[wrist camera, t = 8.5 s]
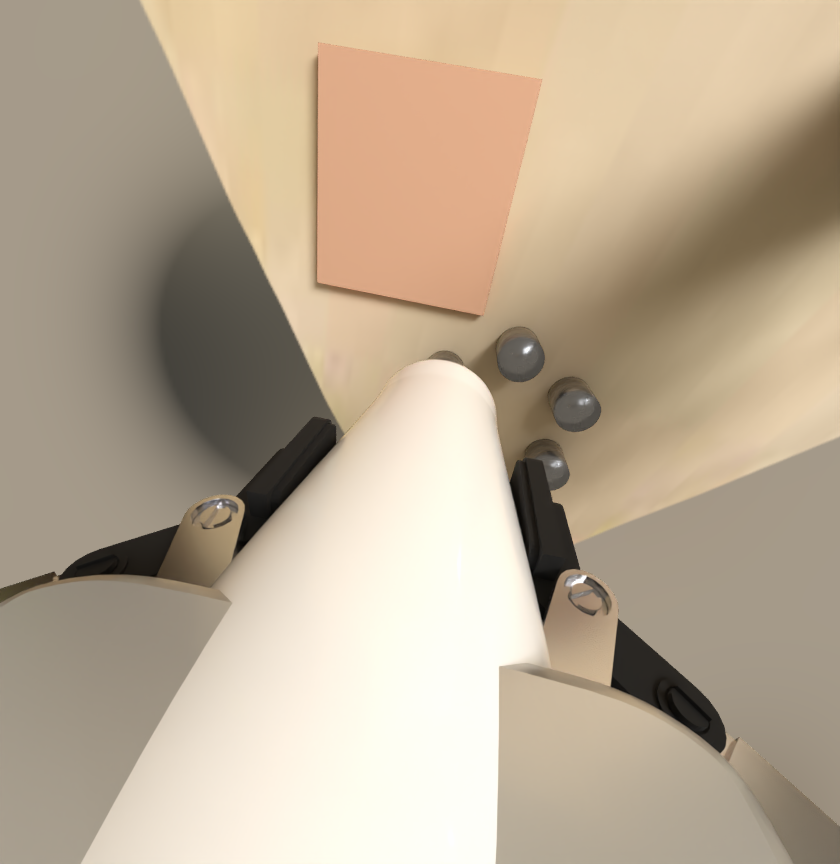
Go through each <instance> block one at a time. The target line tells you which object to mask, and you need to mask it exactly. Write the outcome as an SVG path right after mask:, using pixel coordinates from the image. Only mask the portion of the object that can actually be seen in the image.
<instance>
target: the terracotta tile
mask: <svg viewBox="0 0 840 864" xmlns="http://www.w3.org/2000/svg"><path fill="white" fill-rule="evenodd" d="M541 83H542V79H536V78H530V77H524V76H518V75H512V74H506V73H500V72H494V71H488V70H482V69H476V68H470V67H464V66H458V65H452V64H446V63H440V62H433V61H427V60H421V59H415V58H409V57H403V56H397V55H391V54H385V53H379V52H373V51H367V50H361V49H355V48H349V47H343V46H337V45H331V44H325V43H319V42H318V206H317V282H318V283H322V284H327V285H332V286H337V287H342V288H347V289H352V290H357V291H362V292H367V293H372V294H377V295H382V296H387V297H392V298H397V299H402V300H407V301H412V302H417V303H422V304H427V305H432V306H437V307H442V308H447V309H452V310H457V311H462V312H467V313H472V314H477V315H482V316H483V315H484V311H485V307H486V303H487V299H488V295H489V291H490V287H491V283H492V279H493V275H494V271H495V267H496V263H497V259H498V255H499V251H500V247H501V243H502V239H503V235H504V231H505V227H506V223H507V219H508V215H509V211H510V207H511V203H512V199H513V195H514V191H515V187H516V183H517V179H518V175H519V171H520V167H521V163H522V159H523V155H524V151H525V147H526V143H527V139H528V135H529V131H530V127H531V123H532V119H533V115H534V111H535V107H536V103H537V99H538V95H539V91H540V87H541Z"/></svg>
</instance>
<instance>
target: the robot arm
mask: <svg viewBox="0 0 840 864" xmlns="http://www.w3.org/2000/svg"><path fill="white" fill-rule="evenodd" d="M335 444H336V426H335V425H333V424H331V420H329V419H323V418H318V417H313V418H312V419H311V420H310V421H309V422H308V423H307V424H306V425H305V426H304V428H303V429H302V430H301V431H300V432H299V433H298V434H297V435H296V437H294V439H293V440H292V441H291V442H290V443H289V444H288V445H287V446H286V447H285V448H283V449H280V450H279V451H278V452H277V453H276V454H275V455H274V456H273V457H272V458H271V459H270V460H269V461H268V462H267V464H266V465H265V466H264V467H263V468H262V469H261V470H260V471H259V472H258V473H257V474H256V475H255V477H254V478H253V479H252V480H251V481H250V482H249V483H248V484H247V485H246V486H245V487H244V488H243V490H242V491H241V492H240V493H239V494H238V495H237V496H236V497H235V496H231V495H216V496H211V497H208V498H205V499H202V500H201V501H199V502H197V503H195V504H194V505H193V506H191V507H190V508H189V509H188V511H187V512H186V513H185V515H184V517H183V519H182V521H181V523H180V524H179V525H176V526H173V527H170V528H167V529H163V530H160V531H157V532H154V533H151V534H147V535H144V536H141V537H138V538H135V539H131V540H128V541H125V542H121V543H118V544H115V545H112V546H109V547H106V548H103V549H99V550H97V551H94V552H92V553H89V554H87V555H85V556H83V557H82V558H80V559H78V560H77V561H75V562H74V563H73V564H71V565H70V566H69V567H68V568H67V569H66V570H65V571H64V572H63V574H61V575H58V576H57V575H56V573H55V572H51V573H48V574H45V575H42V576H38V577H35V578H32V579H29V580H26V581H23V582H19V583H16V584H13V585H10V586H7V587H4V588H1V589H0V864H81V862H82V860H83V859H84V857H85V855H86V853H87V851H88V850H89V848H90V846H91V844H92V842H93V841H94V839H95V837H96V835H97V833H98V831H99V830H100V828H101V826H102V824H103V822H104V820H105V819H106V817H107V815H108V813H109V811H110V809H111V808H112V806H113V804H114V802H115V800H116V799H117V797H118V795H119V793H120V791H121V790H122V788H123V786H124V784H125V782H126V781H127V779H128V777H129V775H130V774H131V772H132V770H133V768H134V766H135V765H136V763H137V761H138V759H139V757H140V756H141V754H142V752H143V750H144V748H145V747H146V745H147V743H148V742H149V740H150V738H151V736H152V735H153V733H154V731H155V730H156V728H157V726H158V724H159V723H160V721H161V719H162V717H163V716H164V714H165V712H166V711H167V709H168V707H169V705H170V704H171V702H172V700H173V698H174V697H175V695H176V694H177V692H178V690H179V689H180V687H181V685H182V684H183V682H184V680H185V679H186V677H187V676H188V674H189V672H190V671H191V669H192V667H193V666H194V664H195V662H196V661H197V659H198V657H199V656H200V654H201V652H202V651H203V649H204V647H205V646H206V644H207V643H208V641H209V639H210V638H211V636H212V635H213V633H214V631H215V630H216V628H217V627H218V625H219V624H220V622H221V620H222V619H223V617H224V616H225V614H226V612H227V611H228V609H229V608H230V606H231V605H232V602H231V601H230V600H229V599H228V598H227V597H226V596H225V595H224V594H223V593H222V592H221V591H220V590H217V589H212V588H210V587H211V586H212V584H213V583H214V582H215V581H216V579H217V578H218V577H219V576H220V574H221V573H222V572H223V571H224V570H225V568H226V567H227V566H228V565H229V564H230V563H231V561H232V560H233V559H234V558H235V557H236V555H237V554H238V553H239V552H240V551H241V550H242V548H243V547H244V546H245V545H246V544H247V543H248V541H249V540H250V539H251V538H252V537H253V536H254V534H255V533H256V532H257V531H258V530H259V529H260V528H261V527H262V525H263V524H264V523H265V522H266V521H267V520H268V519H269V517H270V516H271V515H272V514H273V513H274V512H275V511H276V510H277V508H278V507H279V506H280V505H281V504H282V503H283V502H284V501H285V500H286V499H287V497H288V496H289V495H290V494H291V493H292V492H293V491H294V490H295V489H296V488H297V486H298V485H299V484H300V483H301V482H302V481H303V480H304V479H305V478H306V476H307V475H308V474H309V473H310V472H311V471H312V470H313V469H314V468H315V467H316V465H317V464H318V463H319V462H320V461H321V460H322V459H323V458H324V457H325V456H326V454H327V453H328V452H329V451H330V450H331V449H332V448H333V447H334V446H335ZM510 486H511V490H512V495H513V499H514V503H515V507H516V511H517V516H518V520H519V524H520V528H521V532H522V536H523V541H524V545H525V549H526V553H527V557H528V562H529V566H530V570H531V574H532V578H533V583H534V587H535V592H536V596H537V601H538V605H539V609H540V614H541V618H542V623H543V628H544V633H545V638H546V643H547V648H548V653H549V658H550V663H551V669H549V668H545V667H541V666H538V665H534V664H530V663H521V664H512V665H506V666H499V748H498V799H497V842H496V862H495V864H840V826H839V825H837V824H836V823H835V822H834V821H833V820H832V819H831V818H830V817H829V816H827V815H826V814H825V813H824V812H823V811H822V810H821V809H820V808H818V807H817V806H816V805H815V804H814V803H813V802H812V801H811V800H810V799H808V798H807V797H806V796H805V795H804V794H803V793H802V792H800V791H799V790H798V789H797V788H796V787H795V786H794V785H793V784H792V783H791V782H789V781H788V780H787V779H786V778H785V777H784V776H783V775H782V774H780V773H779V772H778V771H777V770H776V769H775V768H774V767H773V766H772V765H770V764H769V763H768V762H767V761H766V760H765V759H764V758H763V757H761V756H760V755H759V754H758V753H757V752H756V751H755V750H754V749H753V748H751V747H750V746H749V745H748V744H747V743H746V742H745V741H744V740H743V739H741V738H740V737H738V738H737V739H735V740H734V739H733V738H732V737H731V736H730V735H729V734H728V733H726V732H725V728H724V725H723V723H722V720H721V718H720V716H719V714H718V712H717V711H716V709H715V708H714V707H713V705H712V704H711V702H710V701H709V700H708V699H707V698H706V697H705V696H704V695H703V694H702V693H701V692H700V691H699V690H698V689H697V688H696V687H695V686H694V685H693V684H692V683H691V682H689V681H688V680H687V679H686V678H685V677H684V676H683V675H682V674H680V673H679V672H678V671H677V670H676V669H675V668H673V667H672V666H671V665H670V664H669V663H668V662H667V661H666V660H665V659H663V658H662V657H661V656H660V655H659V654H658V653H657V652H655V651H654V650H653V649H652V648H651V647H650V646H649V645H647V644H646V643H645V642H644V641H643V640H642V639H641V638H640V637H638V636H637V635H636V634H635V633H634V632H633V631H631V629H629V628H628V627H627V626H626V625H625V624H624V623H622V622H621V621H620V620H619V619H618V612H619V609H618V602H617V600H616V598H615V595H614V594H613V592H612V591H611V590H610V588H609V587H608V586H607V585H606V584H605V583H604V582H603V581H602V580H601V579H599V578H597V577H596V576H594V575H592V574H591V573H588V572H586V571H583V570H580V567H579V563H578V559H577V556H576V552H575V549H574V545H573V541H572V537H571V534H570V530H569V527H568V523H567V519H566V516H565V512H564V509H563V506H562V505H561V504H558V503H553V501H552V497H551V493H550V489H549V485H548V481H547V477H546V472H545V468H544V464H543V461H542V460H537V459H532V458H527V457H525V458H524V459H523V461H520V460H518V461H517V462H516V465H515V468H514V471H513V474H512V477H511V480H510Z"/></svg>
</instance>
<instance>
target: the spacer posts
mask: <svg viewBox="0 0 840 864" xmlns="http://www.w3.org/2000/svg"><path fill="white" fill-rule="evenodd" d="M496 353H497V362H498V368H499V370H500V372H501V374H502V375H503V376H504V377H505V378H507V379H508V380H511V381H514V382H524V381H528V380H530V379H532V378H534V377H535V376H536V375H537V374H538V373H539V372H540V371H541V369H542V367H543V365H544V360H545V356H544V352H543V349H542V347H541V345H540V343H539V341H538V339H537V337H536V335H535V334H534V333H533V332H532V331H531V330H529V329H527V328H524V327H514V328H511V329H509V330H507V331H505V332H504V333H503V334H502V335H501V336H500V338H499V339H498V342H497V345H496ZM431 359H438V360H447V361H451V362H454V363H457V364H460V365H462V366H463V362H462V360H461V359H460V358H459V357H458V356H457V355H456V354H454V353H452V352H450V351H439V352H437V353H435V354H433V355H432V356H431V357H430V358H429V359H428V360H431ZM548 401H549V404H550V407H551V410H552V412H553V415H554V417H555V420H556V422H557V424H558V425H559V426H560V427H561V428H562V429H564V430H567V431H571V432H579V431H583V430H586V429H588V428H590V427H591V426H593V425H594V424H595V423H596V422H597V420H598V419H599V417H600V413H601V407H600V404H599V402H598V400H597V399H596V397H595V396H594V394H593V393H592V391H591V390H590V388H589V387H588V385H587V384H586V383H585V382H584V381H583V380H581V379H579V378H575V377H568V378H564V379H561V380H559V381H557V382H556V383H555V384H554V385H553V386H552V387H551V389H550V391H549V393H548ZM525 457H527V458H532V459H537V460H542V461H543V464H544V468H545V472H546V477H547V481H548V485H549V489H550V491H551V490H556V489H559V488H561V487H562V486H564V485H565V484H566V483H567V481H568V479H569V476H570V473H569V469H568V466H567V463H566V461H565V458H564V455H563V452H562V449H561V447H560V446H559V445H558V444H557V443H556V442H554V441H552V440H548V439H542V440H538V441H535V442H533V443H532V444H530V445H529V446H528V448H527V450H526V452H525Z"/></svg>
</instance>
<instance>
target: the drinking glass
mask: <svg viewBox="0 0 840 864" xmlns="http://www.w3.org/2000/svg"><path fill="white" fill-rule="evenodd" d="M210 588H212V589H217V590H220V591H221V592H222V593H223V594H224V595H225V596H226V597H227V598H228V599H229V600H230V601H231V602H232V605H231V606H230V608H229V609H228V611H227V612H226V614H225V616H224V617H223V619H222V620H221V622H220V624H219V625H218V627H217V628H216V630H215V631H214V633H213V635H212V636H211V638H210V639H209V641H208V643H207V644H206V646H205V647H204V649H203V651H202V652H201V654H200V656H199V657H198V659H197V661H196V662H195V664H194V666H193V667H192V669H191V671H190V672H189V674H188V676H187V677H186V679H185V680H184V682H183V684H182V685H181V687H180V689H179V690H178V692H177V694H176V695H175V697H174V698H173V700H172V702H171V704H170V705H169V707H168V709H167V711H166V712H165V714H164V716H163V717H162V719H161V721H160V723H159V724H158V726H157V728H156V730H155V731H154V733H153V735H152V736H151V738H150V740H149V742H148V743H147V745H146V747H145V748H144V750H143V752H142V754H141V756H140V757H139V759H138V761H137V763H136V765H135V766H134V768H133V770H132V772H131V774H130V775H129V777H128V779H127V781H126V782H125V784H124V786H123V788H122V790H121V791H120V793H119V795H118V797H117V799H116V800H115V802H114V804H113V806H112V808H111V809H110V811H109V813H108V815H107V817H106V819H105V820H104V822H103V824H102V826H101V828H100V830H99V831H98V833H97V835H96V837H95V839H94V841H93V842H92V844H91V846H90V848H89V850H88V851H87V853H86V855H85V857H84V859H83V860H82V862H81V864H495V862H496V842H497V799H498V748H499V666H506V665H512V664H521V663H530V664H534V665H538V666H541V667H545V668H549V669H551V663H550V658H549V653H548V648H547V643H546V638H545V633H544V628H543V623H542V618H541V614H540V609H539V605H538V601H537V596H536V592H535V587H534V583H533V578H532V574H531V570H530V566H529V562H528V557H527V553H526V549H525V545H524V541H523V536H522V532H521V528H520V524H519V520H518V516H517V511H516V507H515V503H514V499H513V495H512V490H511V486H510V482H509V477H508V473H507V469H506V465H505V460H504V456H503V451H502V447H501V442H500V438H499V433H498V428H497V415H496V407H495V403H494V400H493V397H492V395H491V393H490V391H489V389H488V388H487V386H486V385H485V383H484V382H483V381H482V380H481V379H480V378H479V377H478V376H477V375H476V374H475V373H474V372H472V371H471V370H469V369H468V368H466V367H464V366H462V365H460V364H457V363H454V362H451V361H447V360H438V359H431V360H423V361H418V362H415V363H412V364H410V365H408V366H406V367H404V368H402V369H401V370H399V371H398V372H397V373H395V374H394V375H393V376H392V377H391V378H390V380H389V381H388V382H387V383H386V385H385V386H384V388H383V389H382V391H381V392H380V394H379V396H378V397H377V398H376V399H375V401H374V402H373V403H372V404H371V405H370V406H369V407H368V409H367V410H366V411H365V412H364V413H363V414H362V415H361V417H360V418H359V419H358V420H357V421H356V422H355V423H354V424H353V426H352V427H351V428H350V429H349V430H348V431H347V432H346V433H345V434H344V436H343V437H342V438H341V439H340V440H339V441H338V442H337V443H336V444H335V446H334V447H333V448H332V449H331V450H330V451H329V452H328V453H327V454H326V456H325V457H324V458H323V459H322V460H321V461H320V462H319V463H318V464H317V465H316V467H315V468H314V469H313V470H312V471H311V472H310V473H309V474H308V475H307V476H306V478H305V479H304V480H303V481H302V482H301V483H300V484H299V485H298V486H297V488H296V489H295V490H294V491H293V492H292V493H291V494H290V495H289V496H288V497H287V499H286V500H285V501H284V502H283V503H282V504H281V505H280V506H279V507H278V508H277V510H276V511H275V512H274V513H273V514H272V515H271V516H270V517H269V519H268V520H267V521H266V522H265V523H264V524H263V525H262V527H261V528H260V529H259V530H258V531H257V532H256V533H255V534H254V536H253V537H252V538H251V539H250V540H249V541H248V543H247V544H246V545H245V546H244V547H243V548H242V550H241V551H240V552H239V553H238V554H237V555H236V557H235V558H234V559H233V560H232V561H231V563H230V564H229V565H228V566H227V567H226V568H225V570H224V571H223V572H222V573H221V574H220V576H219V577H218V578H217V579H216V581H215V582H214V583H213V584H212V586H211V587H210Z"/></svg>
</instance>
